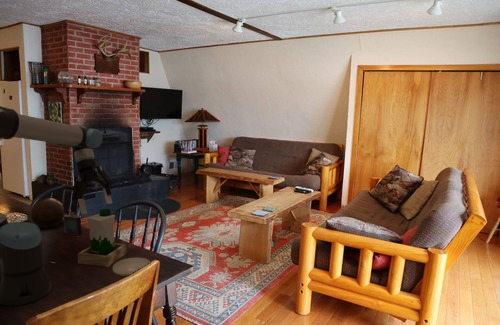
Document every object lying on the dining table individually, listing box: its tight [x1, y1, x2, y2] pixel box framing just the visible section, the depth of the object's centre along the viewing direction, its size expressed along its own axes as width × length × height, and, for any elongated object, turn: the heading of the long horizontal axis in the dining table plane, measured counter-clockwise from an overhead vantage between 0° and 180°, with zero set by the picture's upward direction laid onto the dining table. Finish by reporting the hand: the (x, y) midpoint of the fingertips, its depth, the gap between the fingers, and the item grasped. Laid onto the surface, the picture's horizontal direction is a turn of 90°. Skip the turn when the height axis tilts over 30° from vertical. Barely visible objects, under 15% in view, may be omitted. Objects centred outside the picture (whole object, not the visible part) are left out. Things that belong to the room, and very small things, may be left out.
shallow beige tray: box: [77, 242, 128, 268], centre depth 147 cm, size 13×13×4 cm
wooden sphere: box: [30, 197, 65, 229], centre depth 183 cm, size 15×15×15 cm
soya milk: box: [86, 208, 116, 256], centre depth 146 cm, size 9×9×20 cm
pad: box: [112, 257, 151, 277], centre depth 139 cm, size 14×14×1 cm
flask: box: [63, 211, 83, 236], centre depth 174 cm, size 9×3×11 cm, turn 76°
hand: (96, 208), depth 148 cm, fingers open, 13 cm apart
